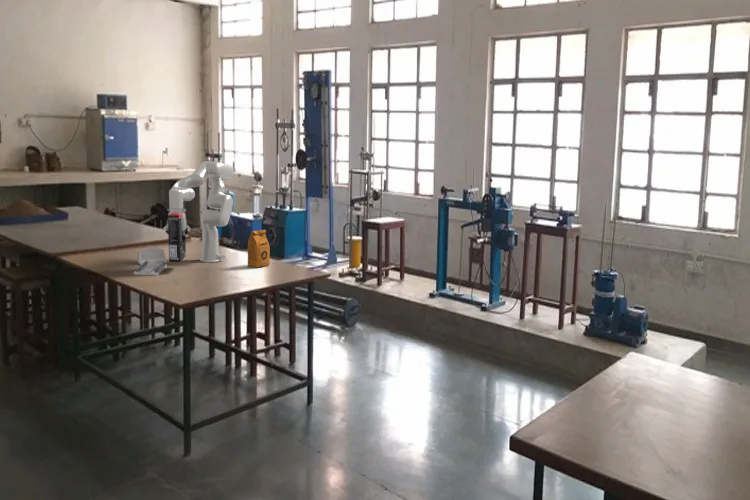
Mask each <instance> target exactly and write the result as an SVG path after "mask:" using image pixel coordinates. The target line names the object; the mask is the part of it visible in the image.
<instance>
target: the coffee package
mask: <svg viewBox="0 0 750 500" xmlns="http://www.w3.org/2000/svg"><path fill="white" fill-rule="evenodd" d="M266 233H267V231H266V229H260V230H253V231H251V233H250V236H249V238H248V243H247V267H251V268H263V267H267V266H270V263H271V261H270V260H271V259H270V253H271V252H270V251H271V250H270V249H271V248H270V243H269V241H268V238H267V236H266Z"/></svg>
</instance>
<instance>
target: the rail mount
mask: <svg viewBox="0 0 750 500" xmlns="http://www.w3.org/2000/svg"><path fill="white" fill-rule="evenodd" d="M167 267H168V264H166V263H165V261H163V262H162V263H151V264H148V261H145V262H144V263H142V264H141V265H140V264H139V266H137V267H136V268H135V271H134V272H133V275H134V276H159V275H161V273H162V272H164V271H165V270H166V269H167Z"/></svg>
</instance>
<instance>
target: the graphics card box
mask: <svg viewBox="0 0 750 500" xmlns="http://www.w3.org/2000/svg"><path fill="white" fill-rule="evenodd" d="M183 213H185V214H186V211H185V212H183ZM167 224H168V227H167V230H168V234H167V239H168V261H169V263H180V262H182V261H183V260H184V259H185V258H186V257H187V248H186V246H187V245H186V244H187V243H186V241H187V240H186V241H185V242H184V243H183V242H182V236H183V233H182V220H181V214H170V215H167Z"/></svg>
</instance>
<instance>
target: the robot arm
mask: <svg viewBox="0 0 750 500" xmlns="http://www.w3.org/2000/svg"><path fill="white" fill-rule="evenodd" d="M234 174H235V170H234V168H233V166H232V165H230V164H226V163H223V162H220V161H208V160H207V161H206V160H205V161H203V162H201V163H200V164H199V165H198V167H197V168H196V169H195V170H194V171H193V172H192V173H191V174H190V175H187V176H185V177H183V178H181V179H179V180H177V181H176V183H174V184H173V186H172V187H171V189H169V191H168V198H169V199H168V200H169V212H168V215H170V214H181V220H182V233H183V236H182V242H183V243H184V242H185V241H187V240H186V235H187V234H188V233H189V232H190V231H192V228H191V227H190V226H189V225H188V223H187V215H186V212H187V209H186V208H184V201H185V202H191V201H192V200H193V199H195V196H196V193H195V190H194V189H193V188H196V187H201V186H202V185H203V184H204V183H205V182H206V181H207V179H208V178H209V180H210V189H209V193H208V196H207V202H206V203H207V204H206V205H207V207H209V208H210V209H205V210H203V211H202V212H201V213H200V222H201V230H202V231H201V233H202V234H201V235H202V237H201V238H202V245H201V246H202V257H200V258H199V260H200V261H199V262H203V263H217V262H218V263H219V262H220V261H222V259H226V254H220V252H219V230H218V228H217V227H226V226H227V225H228V223H229V220H230V217H231V214H232V210H233V206H234V200H233V196H232V195H230V194H226V193H225V190H226V186H225V182H224V181H223V179H225V180H228V179H229V180H230V179H232V178H233V177H234ZM183 212H185V213H183ZM168 215H167V216H168ZM162 229H163V231H164V232H165V233H166V234H167V235H168V223H167V224H166V225H165V226H164V227H163V228H162Z"/></svg>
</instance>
